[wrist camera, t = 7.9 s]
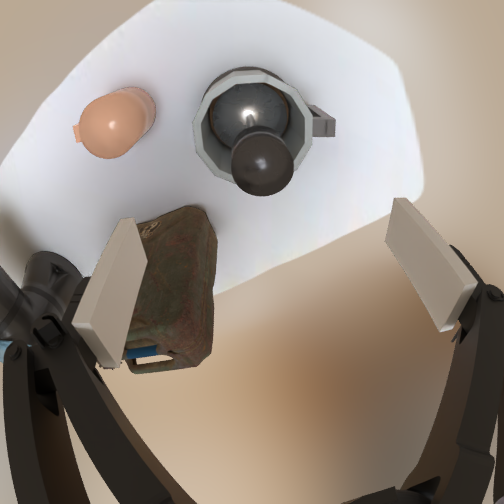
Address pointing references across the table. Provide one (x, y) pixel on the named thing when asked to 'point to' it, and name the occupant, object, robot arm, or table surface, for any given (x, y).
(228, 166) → the faceted grey tankard
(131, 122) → the peach mug
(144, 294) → the canister
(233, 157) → the plunger
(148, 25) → the table surface
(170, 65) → the table surface
